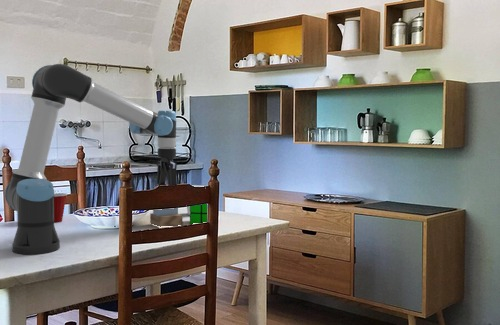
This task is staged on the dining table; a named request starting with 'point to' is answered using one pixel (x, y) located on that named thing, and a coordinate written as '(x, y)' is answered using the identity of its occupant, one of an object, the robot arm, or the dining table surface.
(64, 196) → the plastic cup
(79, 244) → the dining table surface
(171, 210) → the slate block
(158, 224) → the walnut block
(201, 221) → the puzzle cube
